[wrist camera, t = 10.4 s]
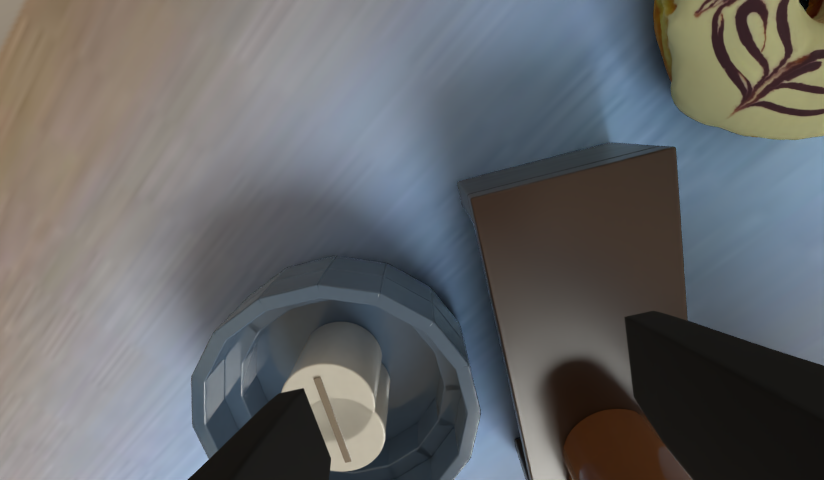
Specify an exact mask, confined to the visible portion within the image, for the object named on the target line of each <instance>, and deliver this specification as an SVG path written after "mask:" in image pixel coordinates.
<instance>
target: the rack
mask: <svg viewBox="0 0 824 480" xmlns="http://www.w3.org/2000/svg"><path fill="white" fill-rule="evenodd" d="M457 186H458V191H459V195H460V200H461V204H462V206H463V208H464V209H465V211H466V212H467V214H468V216H469V217H470V219H471V220H472V222H473V224H474V228H475V233H476V238H477V242H478V247H479V251H480V256H481V260H482V265H483V269H484V274H485V278H486V283H487V288H488V292H489V297H490V301H491V306H492V310H493V315H494V319H495V324H496V329H497V333H498V338H499V342H500V347H501V351H502V356H503V360H504V365H505V370H506V374H507V379H508V383H509V388H510V392H511V397H512V401H513V406H514V411H515V415H516V420H517V424H518V429H519V433H520V438H518V439H515V444H516V448H517V453H518V457H519V460H520V463H521V466H522V469H523V472H524V476H525V479H526V480H569V475H570V474H569V471H568V469H567V467H566V465H565V462H564V458H563V447H564V443H565V440H566V438H567V436H568V434H569V433H570V431H571V430H572V429H573V427H574V426H575V425H576V424H577V423H579V422H580V421H581V420H583V419H584V418H586V417H587V416H589V415H591V414H593V413H596V412H599V411H602V410H607V409H628V410H632V411H635V412H638V413H640V414H642V415H644V416H645V417H646V415H645V414H644V412H643V411H642V409H641V407H640V406H639V404H638V403H637V401H636V399H635V398H634V395H633V387H632V378H631V369H630V361H629V352H628V344H627V335H626V327H625V318H624V317H627V316H631V315H636V314H640V313H645V312H649V311H657V312H661V313H665V314H668V315H671V316H675V317H678V318H681V319H684V320H687V305H686V290H685V275H684V261H683V246H682V231H681V216H680V201H679V186H678V171H677V156H676V148H675V147H670V146H654V145H639V144H625V143H610V142H609V143H605V144H601V145H598V146H594V147H590V148H586V149H582V150H578V151H574V152H570V153H566V154H562V155H558V156H554V157H551V158H547V159H543V160H539V161H535V162H531V163H527V164H523V165H519V166H515V167H511V168H507V169H504V170H500V171H496V172H492V173H488V174H484V175H480V176H476V177H472V178H468V179H464V180H460V181H458V182H457ZM687 321H688V320H687Z"/></svg>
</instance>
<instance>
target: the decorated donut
mask: <svg viewBox="0 0 824 480" xmlns="http://www.w3.org/2000/svg"><path fill="white" fill-rule="evenodd" d="M808 5H809V6H808V7H807V9H806V11H805V10H804V8H803V7H802V6H801V4H800V3H799V0H655V2H654V12H653V19H654V31H655V36H656V40H657V42H658V45H659V48H660V52H661V56H662V57H663V61H664V65H665V68H666V71H667V74H668V76H669V79H670V81H671V96H672V99H673V101H674V104H675V105H676V106H677V107H678V109H679V110H680V111H681V112H683V113H684V114H685V115H687V116H688V117H690V118H692V119H693V120H695V121H698V122H700V123H702V124H705V125H709V126H714V127H720V128H722V129H725V130H728V131H730V132H733V133H735V134H739V135H743V136H751V137H761V138H768V139H777V140H785V139H789V140H799V139H805V138H811V137H818V136H824V0H809V3H808Z"/></svg>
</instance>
